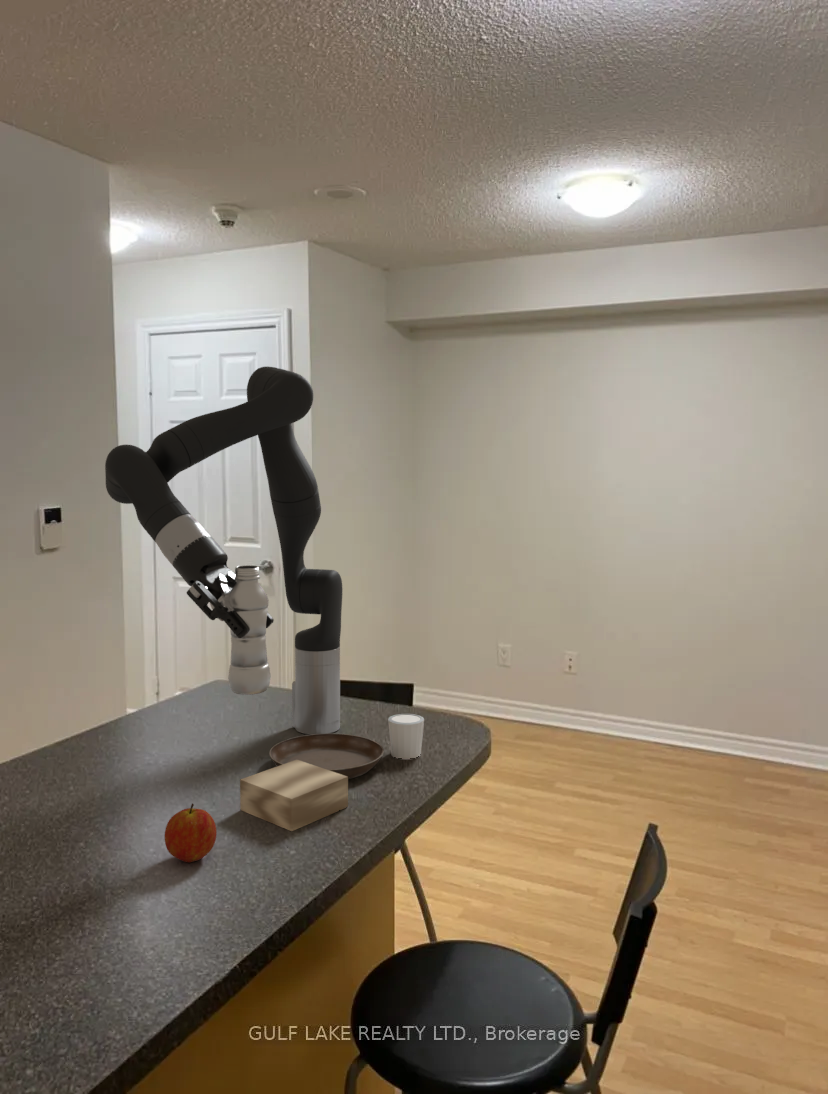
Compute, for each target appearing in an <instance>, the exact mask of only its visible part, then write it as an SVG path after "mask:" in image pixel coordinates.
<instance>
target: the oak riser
mask: <svg viewBox="0 0 828 1094" xmlns="http://www.w3.org/2000/svg"><path fill="white" fill-rule="evenodd" d="M239 792H240V793H239V795H240V797H239V799H240V806H239V807H240V811H241V812H243V813H247V814H249V815H252V816H253V817H256V818H259V819H262V820H264V821H265V822H268V823H271V824H273V825H275V826H278V827H280V828H282V829H284V830H287V831H290V832H294V831H296V830H298V829H300V828H303V827H306V826H307V825H309V824H312V823H315V822H317V821H319V820H321V819H324V818H325V817H328V816H331V815H332V814H335V813H337V812H339V810H340V811H341V810H344V809H346V807H347V808H348V807H349V779H348V776H345V775H342V774H339V773H336V772H333V771H330V770H327V769H324V768H321V767H318V766H315V765H312V764H309V763H306V762H303V761H300V760H294V761H291V762H288V763H286V764H283V765H280V766H274V767H272V768H268V769H266V770H263V771H260V772H258V773H255V774H252V775H249V776H246V777H243V778H241V779H240V780H239Z"/></svg>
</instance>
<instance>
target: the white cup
mask: <svg viewBox="0 0 828 1094" xmlns="http://www.w3.org/2000/svg"><path fill="white" fill-rule="evenodd" d="M387 719H388V720H387V721H388V722H387V723H388V731H389V732H388V733H389V744H390V754H391V757H393V758H394V757H396V758H395V759H398V758H402V759H401V760H411V759H410V758H415V759H417V758H416V757H418V756H419V757H421V755H422V747H423V746H422V745H423V735H424V726H425V725H424V724H425V718H424V717H423V716H421V715H419V714H414V713H399V714H394V715H391V716H389V717H387ZM420 754H421V755H420ZM419 757H418V758H419Z"/></svg>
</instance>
